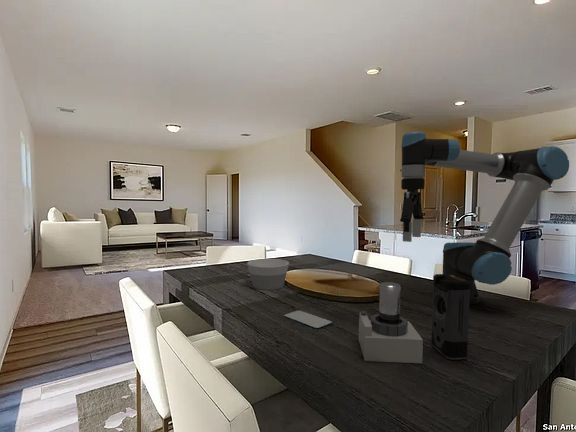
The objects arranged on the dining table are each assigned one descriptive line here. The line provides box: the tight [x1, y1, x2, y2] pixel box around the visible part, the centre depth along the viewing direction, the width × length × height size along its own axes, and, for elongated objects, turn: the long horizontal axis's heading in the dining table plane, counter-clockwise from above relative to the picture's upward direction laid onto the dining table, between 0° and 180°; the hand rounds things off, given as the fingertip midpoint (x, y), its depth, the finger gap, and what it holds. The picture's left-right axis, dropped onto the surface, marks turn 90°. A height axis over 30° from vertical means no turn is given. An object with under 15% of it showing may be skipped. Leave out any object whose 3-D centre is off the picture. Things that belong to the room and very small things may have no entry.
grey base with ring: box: [358, 310, 424, 364], centre depth 89 cm, size 14×12×9 cm
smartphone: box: [283, 310, 333, 331], centre depth 111 cm, size 8×1×16 cm
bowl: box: [246, 258, 290, 291], centre depth 152 cm, size 19×19×11 cm
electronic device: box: [430, 273, 470, 361], centre depth 88 cm, size 9×6×20 cm, turn 5°
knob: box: [378, 281, 402, 325], centre depth 88 cm, size 5×5×12 cm
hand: (412, 239), depth 116 cm, fingers open, 13 cm apart
